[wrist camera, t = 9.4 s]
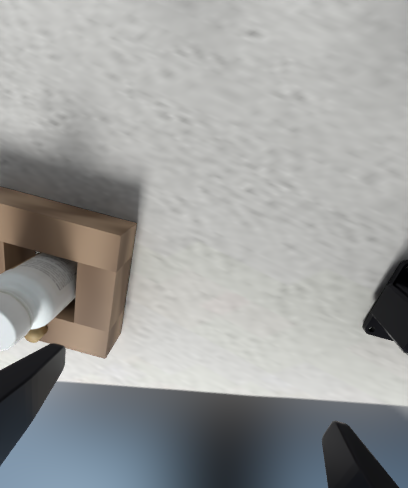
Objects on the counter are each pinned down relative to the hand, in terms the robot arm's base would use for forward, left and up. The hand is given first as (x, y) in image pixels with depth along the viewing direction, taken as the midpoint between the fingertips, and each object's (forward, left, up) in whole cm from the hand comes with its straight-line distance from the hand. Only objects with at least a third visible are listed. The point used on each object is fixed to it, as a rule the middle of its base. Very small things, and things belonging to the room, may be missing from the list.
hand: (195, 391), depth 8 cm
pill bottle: (+12, +5, -12) cm, 18 cm away
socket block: (+12, +5, -12) cm, 18 cm away
